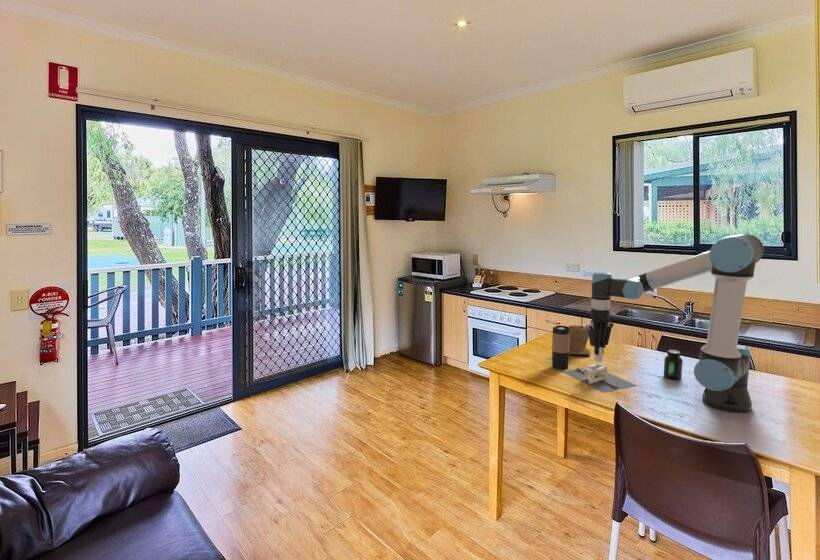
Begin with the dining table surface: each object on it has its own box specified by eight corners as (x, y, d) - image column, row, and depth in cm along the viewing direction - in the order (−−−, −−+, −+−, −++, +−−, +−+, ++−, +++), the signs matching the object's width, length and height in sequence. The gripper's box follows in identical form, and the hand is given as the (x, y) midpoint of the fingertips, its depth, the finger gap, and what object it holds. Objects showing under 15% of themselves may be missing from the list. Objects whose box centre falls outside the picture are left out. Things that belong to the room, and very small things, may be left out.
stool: (606, 366, 184) (590, 372, 182) (607, 379, 186) (591, 385, 183) (596, 362, 190) (580, 367, 188) (597, 374, 191) (581, 380, 189)
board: (637, 386, 181) (637, 383, 181) (603, 393, 175) (603, 390, 175) (593, 366, 205) (593, 364, 205) (561, 372, 200) (561, 369, 199)
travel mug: (569, 371, 201) (570, 329, 198) (552, 370, 202) (553, 329, 199) (567, 365, 208) (568, 325, 205) (550, 364, 210) (551, 325, 207)
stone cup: (588, 350, 230) (589, 323, 228) (592, 357, 218) (593, 329, 216) (558, 349, 233) (559, 322, 231) (561, 356, 222) (561, 328, 220)
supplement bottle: (672, 381, 186) (674, 354, 184) (659, 375, 192) (661, 350, 190) (685, 379, 187) (687, 352, 186) (671, 373, 194) (673, 348, 192)
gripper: (606, 305, 188) (604, 356, 192) (581, 308, 184) (580, 360, 188) (619, 308, 181) (617, 361, 185) (594, 311, 177) (592, 366, 181)
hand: (598, 361), depth 186 cm, fingers closed
